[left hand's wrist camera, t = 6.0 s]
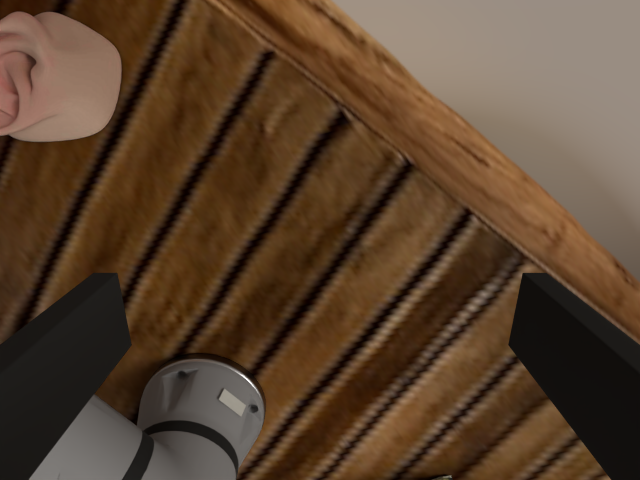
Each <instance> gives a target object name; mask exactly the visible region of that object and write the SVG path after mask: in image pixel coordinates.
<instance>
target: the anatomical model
mask: <svg viewBox="0 0 640 480" xmlns="http://www.w3.org/2000/svg"><path fill="white" fill-rule="evenodd" d="M121 72H122V67H121V59H120V55H119V53H118V51H117V49H116V48H115V47H114V45H113V44H112V43H111V42H109V41H108V40H107V39H105V38H104V37H103V36H101V35H100V34H98V33H97V32H95V31H93V30H92V29H90V28H88V27H87V26H85V25H83V24H82V23H80V22H78V21H76V20H73V19H71V18H68V17H66V16H64V15H61V14H58V13H54V12H45V13H41V14H38V15H36V16H34V17H33V16H31V15H30V14H27V13H24V12H14V13H11V14H9V15H8V16H6V17H5V18H3V19H2V20H0V136H3V135H8V134H9V135H10V136H12V137H13V138H16V139H19V140H23V141H32V142H50V141H63V140H72V139H78V138H83V137H87V136H90V135H93V134H95V133H97V132H99V131H101V130H102V129H103V128H104V127H105V126H106V125H107V124H108V122H109V121H110V119H111V117H112V115H113V112H114V110H115V107H116V104H117V101H118V96H119V91H120V84H121Z"/></svg>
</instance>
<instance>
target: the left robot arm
mask: <svg viewBox="0 0 640 480" xmlns="http://www.w3.org/2000/svg"><path fill="white" fill-rule="evenodd" d="M131 345H132V344H131V339H130V334H129V329H128V324H127V319H126V314H125V309H124V304H123V299H122V294H121V289H120V284H119V279H118V274H117V273H93V274H92V275H90V276H89V277H88V278H86V279H85V280H84V281H83V282H81V283H80V284H79V285H77V286H76V287H75V288H73V289H72V290H71V291H70V292H68V293H67V294H66V295H64V296H63V297H62V298H61V299H59V300H58V301H57V302H55V303H54V304H53V305H51V306H50V307H49V308H48V309H46V310H45V311H44V312H42V313H41V314H40V315H39V316H37V317H36V318H35V319H33V320H32V321H31V322H29V323H28V324H27V325H26V326H24V327H23V328H22V329H20V330H19V331H18V332H16V333H15V334H14V335H13V336H11V337H10V338H9V339H7V340H6V341H5V342H4V343H2V344H1V345H0V480H236V477H237V473H238V468H239V467H240V465H241V463H242V462H243V460H244V459H245V457H246V455H247V454H248V452H249V450H250V449H251V447H252V446H253V444H254V442H255V441H256V439H257V437H258V436H259V433H260V431H261V429H262V426H263V422H264V417H265V411H266V401H265V396H264V393H263V390H262V388H261V386H260V384H259V383H258V381H257V380H256V379H255V377H254V376H253V375H252V374H251V373H250V372H249V371H247V370H246V369H245V368H244V367H242V366H241V365H239V364H237V363H235V362H233V361H231V360H229V359H226V358H223V357H220V356H216V355H210V354H190V355H185V356H181V357H178V358H175V359H172V360H170V361H168V362H167V363H165V364H164V365H162V366H161V367H160V368H159V369H158V370H157V371H156V372H155V373H154V374H153V376H152V377H151V379H150V380H149V382H148V384H147V385H146V387H145V389H144V392H143V395H142V398H141V402H140V408H139V415H138V422H137V426H136V425H135V424H133V423H132V422H131V421H129V420H128V419H127V418H125V417H124V416H123V415H122V414H120V413H119V412H118V411H116V410H115V409H114V408H112V407H111V406H110V405H108V404H107V403H106V402H104V401H103V400H102V399H100V398H99V397H98V396H96V395H95V392H96V391H97V390H98V388H99V387H100V386H101V384H102V383H103V382H104V380H105V379H106V378H107V377H108V375H109V374H110V373H111V371H112V370H113V369H114V367H115V366H116V365H117V363H118V362H119V361H120V359H121V358H122V357H123V356H124V354H125V353H126V352H127V350H128V349H129V348H130V346H131ZM508 345H509V346H510V348H511V349H512V350H513V352H514V353H515V354H516V356H517V357H518V358H519V359H520V361H521V362H522V363H523V365H524V366H525V367H526V369H527V370H528V371H529V373H530V374H531V375H532V377H533V378H534V379H535V380H536V382H537V383H538V384H539V386H540V387H541V388H542V390H543V391H544V392H545V394H546V395H547V396H548V397H549V399H550V400H551V401H552V403H553V404H554V405H555V407H556V408H557V409H558V411H559V412H560V413H561V414H562V416H563V417H564V418H565V420H566V421H567V422H568V424H569V425H570V426H571V428H572V429H573V430H574V432H575V433H576V434H577V435H578V437H579V438H580V439H581V441H582V442H583V443H584V445H585V446H586V447H587V449H588V450H589V451H590V452H591V454H592V455H593V456H594V458H595V459H596V460H597V462H598V463H599V464H600V466H601V467H602V468H603V469H604V471H605V472H606V473H607V475H608V476H609V477H610V479H611V480H640V345H639V344H638V343H636V342H635V341H634V340H633V339H631V338H630V337H629V336H627V335H626V334H625V333H624V332H622V331H621V330H620V329H618V328H617V327H616V326H614V325H613V324H612V323H611V322H609V321H608V320H607V319H605V318H604V317H603V316H601V315H600V314H599V313H598V312H596V311H595V310H594V309H592V308H591V307H590V306H589V305H587V304H586V303H585V302H583V301H582V300H581V299H579V298H578V297H577V296H576V295H574V294H573V293H572V292H570V291H569V290H568V289H567V288H565V287H564V286H563V285H561V284H560V283H559V282H557V281H556V280H555V279H554V278H552V277H551V276H550V275H548V274H547V273H523V274H522V279H521V284H520V289H519V294H518V299H517V304H516V309H515V314H514V319H513V324H512V329H511V334H510V339H509V344H508Z"/></svg>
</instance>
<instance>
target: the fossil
mask: <svg viewBox="0 0 640 480" xmlns="http://www.w3.org/2000/svg"><path fill="white" fill-rule="evenodd" d="M432 480H452V477H451V476H443V477H438V478H436V479H432Z"/></svg>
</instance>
